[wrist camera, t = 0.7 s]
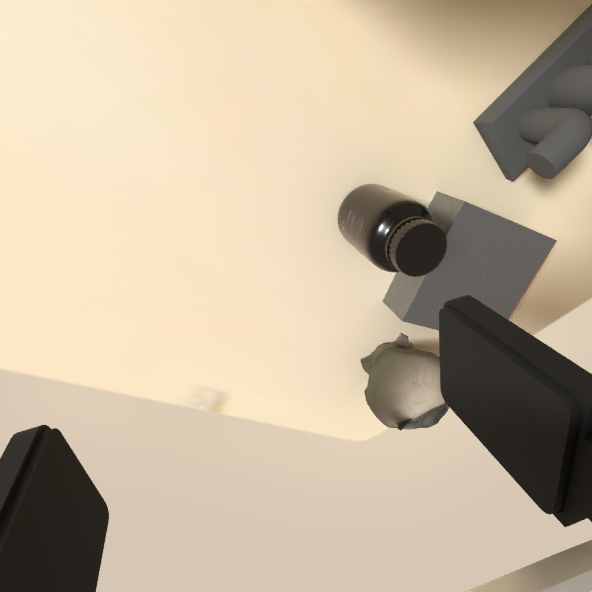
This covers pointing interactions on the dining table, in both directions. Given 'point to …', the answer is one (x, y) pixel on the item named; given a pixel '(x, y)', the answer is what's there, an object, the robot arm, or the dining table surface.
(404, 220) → the supplement bottle
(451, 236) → the stand
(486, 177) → the dining table surface
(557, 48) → the faucet
